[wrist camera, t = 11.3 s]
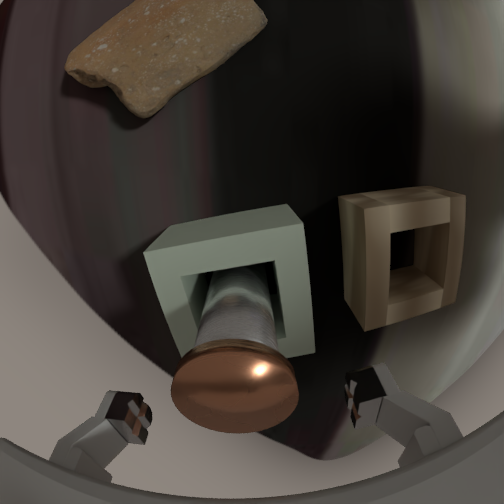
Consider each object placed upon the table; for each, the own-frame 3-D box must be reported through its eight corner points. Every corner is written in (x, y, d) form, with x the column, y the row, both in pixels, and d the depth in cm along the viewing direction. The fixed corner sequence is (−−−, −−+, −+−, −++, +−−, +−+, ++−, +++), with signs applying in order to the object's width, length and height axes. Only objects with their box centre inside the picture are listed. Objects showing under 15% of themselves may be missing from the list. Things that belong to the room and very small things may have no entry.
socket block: (286, 203, 20) (303, 223, 14) (300, 307, 23) (315, 352, 17) (169, 225, 20) (143, 252, 15) (198, 323, 23) (187, 370, 18)
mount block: (429, 185, 19) (465, 195, 15) (426, 278, 22) (455, 302, 18) (337, 196, 20) (364, 209, 15) (344, 298, 23) (364, 331, 18)
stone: (72, 59, 15) (52, 51, 12) (216, -39, 12) (212, -58, 9) (125, 141, 18) (106, 140, 15) (291, 33, 16) (297, 16, 13)
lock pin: (266, 234, 21) (293, 346, 8) (275, 292, 22) (302, 425, 10) (201, 246, 21) (151, 362, 9) (216, 301, 23) (193, 435, 10)
